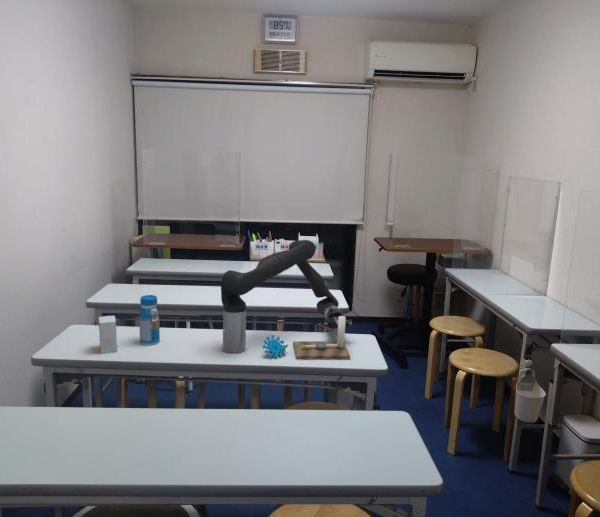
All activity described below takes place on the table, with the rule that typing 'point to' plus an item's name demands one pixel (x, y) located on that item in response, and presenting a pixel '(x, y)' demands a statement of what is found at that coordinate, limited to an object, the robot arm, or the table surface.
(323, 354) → the wooden cutting board
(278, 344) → the blue spiky ball
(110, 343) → the small box
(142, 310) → the beverage bottle
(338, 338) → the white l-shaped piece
